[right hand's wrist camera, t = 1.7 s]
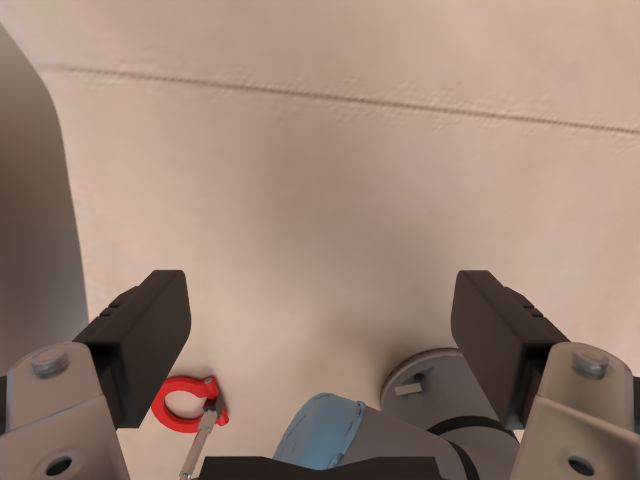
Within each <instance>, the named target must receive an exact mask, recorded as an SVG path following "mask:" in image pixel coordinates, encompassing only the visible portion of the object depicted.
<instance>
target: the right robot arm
mask: <svg viewBox="0 0 640 480" xmlns="http://www.w3.org/2000/svg"><path fill="white" fill-rule="evenodd" d="M190 330H191V313H190V306H189V298H188V291H187V284H186V277H185V274H184V272H183V271H182V270H154V271H153V272H152V273H151V274H150V275H149V276H148V277H147V278H146V279H145V280H144V281H143V282H142V283H141V284H140V285H139V286H135V287H133V288H131V289H129V290H128V291H126V292H124V293H122V294H120V295H119V296H118V297H117V298H116V299H115V300H114V301H113V302H112V303H110V304H109V305H108V308H105V309H104V310H103V311H102V312H101V313H100V316H97V317H96V318H95V319H94V320H93V321H92V322H91V323H90V324H89V325H88V326H87V327H86V328H85V329H84V330H83V331H82V332H81V333H80V334H79V335H78V336H77V337H76V338H75V339H74V340H73V341H72V342H64V343H58V344H53V345H50V346H46V347H43V348H40V349H38V350H36V351H34V352H32V353H30V354H28V355H26V356H25V357H23V358H22V359H20V360H19V361H17V362H16V363H15V364H14V365H13V366H12V367H11V369H10V370H9V372H8V375H7V376H3V377H0V480H131V479H130V476H129V473H128V470H127V466H126V463H125V460H124V457H123V453H122V450H121V447H120V444H119V440H118V437H117V434H116V431H117V429H118V428H139V426H140V425H141V423H142V421H143V419H144V417H145V416H146V414H147V412H148V410H149V408H150V406H151V405H152V403H153V401H154V399H155V397H156V396H157V394H158V392H159V390H160V388H161V387H162V385H163V383H164V381H165V379H166V377H167V376H168V374H169V372H170V370H171V368H172V367H173V365H174V363H175V361H176V359H177V357H178V356H179V354H180V352H181V350H182V348H183V347H184V345H185V343H186V341H187V339H188V337H189V334H190ZM451 331H452V335H453V338H454V340H455V342H456V344H457V345H458V347H459V349H460V351H461V353H462V354H463V356H464V358H465V360H466V362H467V363H468V365H469V367H470V369H471V370H472V372H473V374H474V376H475V378H476V379H477V381H478V383H479V385H480V387H481V388H482V390H483V392H484V394H485V396H486V397H487V399H488V401H489V403H490V405H491V406H492V408H493V410H494V412H495V413H496V415H497V417H498V419H499V421H500V422H501V424H502V426H503V428H504V430H525V431H524V434H523V437H522V440H521V444H520V447H519V450H518V453H517V457H516V460H515V463H514V466H513V470H512V473H511V476H510V479H509V480H640V377H635V376H633V375H632V372H631V370H630V369H629V367H628V366H627V365H626V364H625V363H624V362H623V361H621V360H620V359H619V358H617V357H616V356H614V355H612V354H610V353H608V352H606V351H604V350H602V349H600V348H597V347H594V346H591V345H587V344H583V343H577V342H571V341H570V340H569V339H568V338H567V337H566V336H564V335H563V334H562V333H561V332H560V331H559V330H558V329H557V328H556V327H555V326H554V325H553V324H552V323H551V322H550V321H549V320H548V319H547V318H546V317H543V314H542V313H541V312H540V311H539V310H538V309H537V308H534V306H533V305H532V304H531V303H530V302H529V301H528V300H527V299H526V298H525V297H524V296H523V295H521V294H519V293H517V292H515V291H514V290H512V289H510V288H508V287H504V286H503V285H502V284H501V283H500V282H499V281H498V280H497V279H496V278H495V277H494V276H493V275H492V274H491V273H490V272H489V271H487V270H461V271H459V273H458V275H457V278H456V285H455V292H454V299H453V306H452V313H451ZM190 480H450V479H446V478H443V477H441V475H440V472H439V469H438V466H437V462H436V459H435V456H378V457H374V458H370V459H366V460H362V461H358V462H354V463H350V464H346V465H342V466H338V467H334V468H330V469H325V470H315V469H310V468H306V467H302V466H298V465H294V464H290V463H286V462H282V461H278V460H274V459H270V458H266V457H262V456H205V459H204V462H203V466H202V469H201V472H200V475H199V477H197V478H194V479H190Z"/></svg>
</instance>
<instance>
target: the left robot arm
mask: <svg viewBox="0 0 640 480" xmlns="http://www.w3.org/2000/svg"><path fill="white" fill-rule="evenodd" d="M380 403H381V411H382V412H380V411H378V410H375V409H373V408H371V407H368V406H366V404H365V403H364V402H362V401H357V402H354V401H351V400H349V399H346V398H343V397H340V396H337V395H335V394H331V393H321V394H318V395H316V396H314V397H312V398H311V399H310V400H308V401H307V402H306V403H305V404H304V405H303V407H302V408H301V409H300V410H299V412H298V413H297V414H296V416H295V417H294V419H293V420H292V422H291V423H290V425H289V427H288V429H287V430H286V432H285V434H284V436H283V438H282V440H281V442H280V444H279V446H278V448H277V450H276V452H275V454H274V456H273V458H272V459H274V460H278V461H282V462H286V463H290V464H294V465H298V466H302V467H306V468H310V469H315V470H325V469H330V468H334V467H338V466H342V465H346V464H350V463H354V462H358V461H362V460H366V459H370V458H374V457H378V456H435V459H436V462H437V466H438V469H439V472H440V475H441V477H443V478H446V479H450V480H509V479H510V476H511V473H512V470H513V466H514V463H515V460H516V457H517V453H518V450H519V447H520V443H519V441H518V440H517V438H516V436H515V434H514V431H513V430H504V428H503V426H502V424H501V422H500V421H499V419H498V417H497V415H496V413H495V412H494V410H493V408H492V406H491V405H490V403H489V401H488V399H487V397H486V396H485V394H484V392H483V390H482V388H481V387H480V385H479V383H478V381H477V379H476V378H475V376H474V374H473V372H472V370H471V369H470V367H469V365H468V363H467V362H466V360H465V358H464V356H463V354H462V353H461V351H460V350H457V349H438V350H432V351H427V352H424V353H421V354H418V355H416V356H414V357H412V358H410V359H408V360H406V361H405V362H403V363H402V364H401V365H399V366H398V367H397V368H396V369H395V370H394V371H393V372H392V373H391V375H390V376H389V377H388V379H387V380H386V382H385V384H384V386H383V389H382V393H381V400H380Z"/></svg>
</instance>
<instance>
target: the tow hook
mask: <svg viewBox="0 0 640 480" xmlns="http://www.w3.org/2000/svg"><path fill="white" fill-rule="evenodd" d="M178 390H179V391H187V392H190V393H192V394H194V395H196V396H197V397H199V398H203V397H207V399H206V401H205V404H204V406H203V410H204V414H203V416H201V417H200V418H198V419H196V420H191V421H188V420H182V419H178V418H176V417H174V416H173V415H172V414H170V413H169V411H168V410H167V409H166V407H165V404H164V398H165V396H166V395H167V394H168V393H170V392H172V391H178ZM151 409H152V412H153V413H154V415H155V417H156V418H157V419H158V420H159V421H160V422H161V423H162V424H163V425H165V426H166V427H168V428H170V429H172V430H174V431H178V432H182V433H196V432H198V433H197V435H196V437H195V440H194V442H193V444H192V447H191V449H190V451H189V454H188V456H187V458H186V461H185V463H184V465H183V467H182V470H181V472H180V474H179V476H180V480H189V479H190V478H191V476H192V474H193V471H194V468H195V466H196V463H197V461H198V458H199V456H200V453H201V451H202V448H203V446H204V443H205V441H206V438H207V436H208V434H210V433H211V431H212V429H213V426H214V424H215V423H218V424H219V426H224V425H226V424H227V423H228V421H229V418H228V415H227V413H226V410H225V407H224V402H223V400H222V397H221V394H220V392H219V391H218V389H217V386H216V383H215V381H214V378H213V377H209V378H206V379H205V380H204V381H201V382H198V381H196V380H193V379H189V378H181V377H176V378H171V379H167V380H165V381H164V383H163V385H162V387H161V388H160V390H159V392H158V394H157V396H156V397H155V399H154V401H153V403H152V405H151Z"/></svg>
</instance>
